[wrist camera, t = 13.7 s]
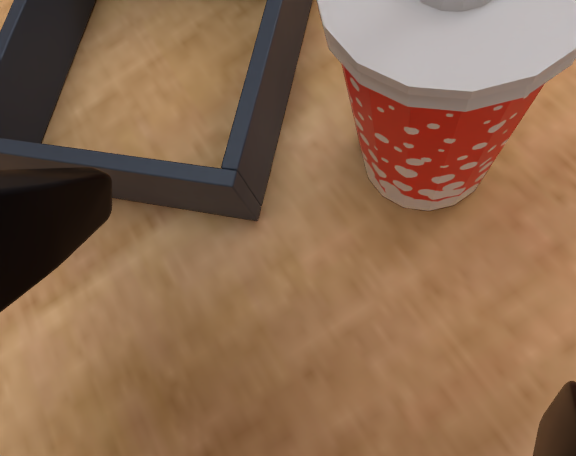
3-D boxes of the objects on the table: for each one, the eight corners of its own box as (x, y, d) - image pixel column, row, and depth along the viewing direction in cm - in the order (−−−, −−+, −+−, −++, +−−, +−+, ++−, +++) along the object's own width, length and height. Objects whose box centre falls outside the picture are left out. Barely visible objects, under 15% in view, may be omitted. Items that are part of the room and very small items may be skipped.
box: (258, 221, 19) (232, 187, 16) (14, 182, 22) (-51, 145, 19) (316, -16, 22) (305, -87, 19) (95, -26, 25) (52, -90, 22)
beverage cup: (482, 254, 17) (783, -156, 4) (318, 200, 19) (180, -215, 6) (531, 105, 19) (877, -554, 6) (375, 66, 20) (363, -511, 7)
